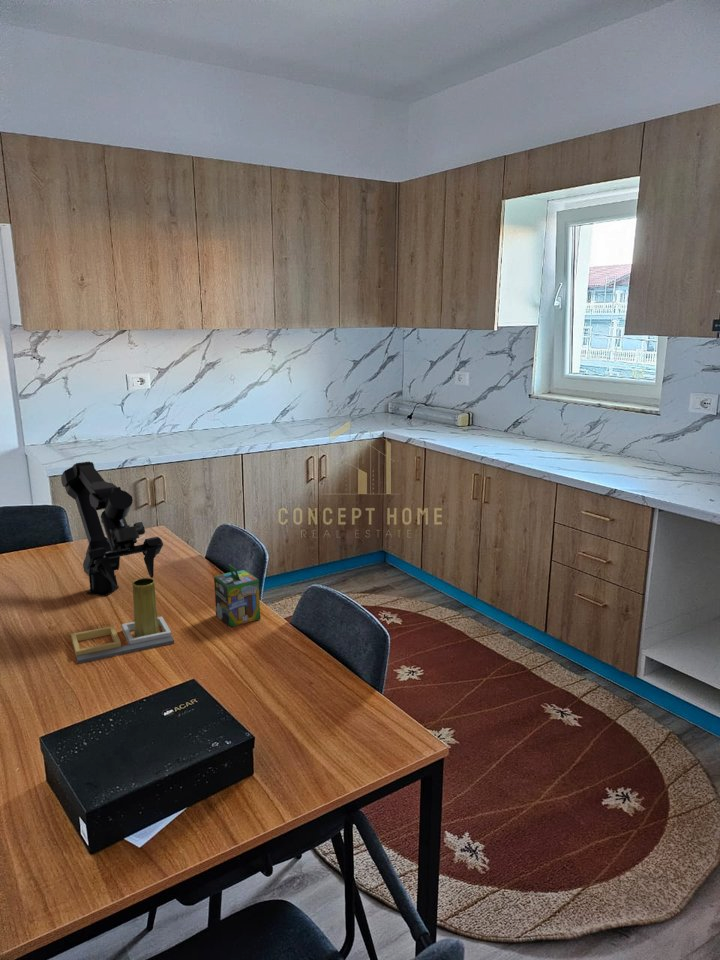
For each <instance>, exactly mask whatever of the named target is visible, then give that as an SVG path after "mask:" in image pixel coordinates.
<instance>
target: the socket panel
mask: <svg viewBox="0 0 720 960" xmlns="http://www.w3.org/2000/svg"><path fill="white" fill-rule="evenodd" d="M157 618H158V626H159V627H160V628H161V631H162V632H161V631H160V632H159V633H156V634H151V635H146V636H141V637H136V638H135V637H133V635H132V633H131V631H132V632H133V631H135V626H134V621H130V622H126V623H122V624H121V629H122V633H123V635H124V638H125V640H126V642H127V644H126V645H122V642H121V639H120V638H119V635H118V633H117V630H116V628H115V625H109V626H104V627H99V628H95V629H89V630H85V631H79V632H75V633H70V637H71V643H72V648H73V652H74V655H75V658H76V661H77V664H83V663H88V662H92V661H97V660H102V659H107V658H111V657H116V656H120V655H125V654H130V653H135V652H139V651H143V650H148V649H153V648H159V647H162V646H167V645H172V644H175V639H174V637H173V635H172V631H171V629H170V627H169V626H168V624H167V622H166V621H165V619H164V617H163V616H157ZM104 636H105V637H106V636H111V639H112V642H107V643H104V644H103V643H102V644H99V645H98V644H97V645H93V646H88V647H83V648H80V644H79V642H80V641H81V642H82V641H86V640H91V639H96V638H100V637H104Z"/></svg>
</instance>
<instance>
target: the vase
mask: <svg viewBox="0 0 720 960" xmlns="http://www.w3.org/2000/svg"><path fill="white" fill-rule="evenodd" d="M131 584H132V598H133V599H132V600H133V602H132V603H133V618H134V620H133V622H134V626H135V630H134V632H133V633H134V634H133V636H134V637H133V638H136V637H141V636H146V635H151V634H156V633H160V629H159V625H158V618H157V617H158V609H157V608H158V607H157V597H156V587H155V586H156V585H155V579H154V578H151V577H140V578H137V579H134V580H133V581H132V583H131Z"/></svg>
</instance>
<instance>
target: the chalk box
mask: <svg viewBox="0 0 720 960" xmlns="http://www.w3.org/2000/svg"><path fill="white" fill-rule="evenodd" d="M228 568H229V571H230V572H226V573H225V572H224V573H222V574H218V575H214V577H213V581H214V582H213V583H214V598H215V599H214V601H215V616H217V618H218V619H219V620H221V622H222V623H224V624H225V625H226V626H227V628H229V627H230V628H232V627H237V626H240V625H244V624H247V623H250V622H253V621H258V620H261V606H260V605H261V603H260V601H261V600H260V580H259V578H257V577H256V576H255V575H253V574H252V573H250V572H248V571H247V570H245V569H242V570H237V568H236V567H234V566H233V565H231V564H230V563H228Z"/></svg>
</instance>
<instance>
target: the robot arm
mask: <svg viewBox="0 0 720 960" xmlns="http://www.w3.org/2000/svg"><path fill="white" fill-rule="evenodd" d="M60 479H61V481H60V482H61V485H62V487H64V489H65V490H66V494H67V495H68V496H69V497H71V498H72V499H73V500H74V501H75V502H76V504H75V505H76V506H77V510H78V513H79V516H80V519H81V523H82V525H83V528H84V531H85V535H86V539H87V542H88V546H87V549H86V552H85V557H84V560H83V562H82V567H83V572H84V573H85V574H86V575H87V576H88V579H89V588H90V589H89V590H87V591H86V594H88V595H96V596H104V597H105V596H109V595H110V594H112V593H113V592H114V591H116V590H118V589H119V588H120V587H119V585H118V582H117V581H118V580H117V576H116V573H115V571H118V570H119V569H120V561H121V557H124V556H125V557H126V556H129V555H134V554H139V553H141V554H142V556H144V557H143V560H144V564H145V567H146V570H147V572H148V573H147V574H148V575H149V578H152V579H154V570H155V569H154V567H155V566H154V565H155V562H154V561H155V558H156V557H157V555H159V554H160V552H161V550H162V548H163V546H164V542H163V540H162V538H160V537H159V536H153V537H149V538H145V539H144V541H143V543H142V544H139V545H135V544H137V542H138V539H140V536H142V535H145V534H146V529H145V525H144V523H143V522H142V521H140V522H139V521H138V522H135V523H133V525H132V526H131V525H130V524H129V525H128V523H127V520H126V518H127V516H128V514H129V512H130V510H131V507H132V504H133V502H134V501H133V496H132V495H131V494H130V493H129V492H127V491H126V490H123V489H122V488H121V486H117V485H115V484H114V483H112V482H108V481H106V480H105V479H104V478H103V476H101V474H100V473H99V471H97V469H96V468H95V464H94V462H92V461H83V462H76V463H74V464H73V465H72V466H71V467H69V468H67V469H65V470H63V472H62V474H61V477H60ZM100 510H103V511H102V512H101V514H100V516H99V513H98V511H100ZM102 526H103V527H102ZM103 528H104V530H103ZM104 532H105V533H104ZM105 535H106V536H105Z"/></svg>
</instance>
